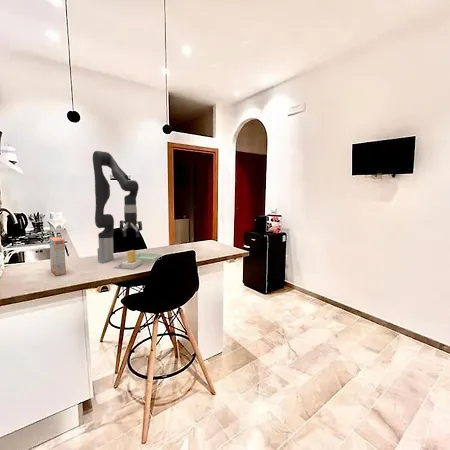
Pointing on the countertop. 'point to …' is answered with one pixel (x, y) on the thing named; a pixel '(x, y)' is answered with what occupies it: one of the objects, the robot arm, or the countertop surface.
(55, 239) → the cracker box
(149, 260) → the parts tray
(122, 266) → the block
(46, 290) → the countertop surface
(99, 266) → the countertop surface
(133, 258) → the fuse
